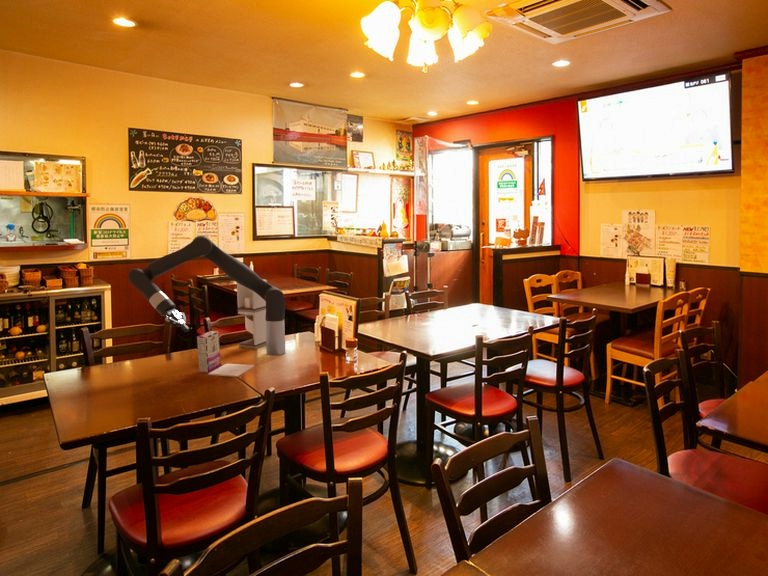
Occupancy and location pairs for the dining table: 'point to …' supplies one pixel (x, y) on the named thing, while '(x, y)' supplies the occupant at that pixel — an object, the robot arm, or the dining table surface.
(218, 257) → the robot arm
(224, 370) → the mat
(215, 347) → the candy bar box
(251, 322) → the display case
